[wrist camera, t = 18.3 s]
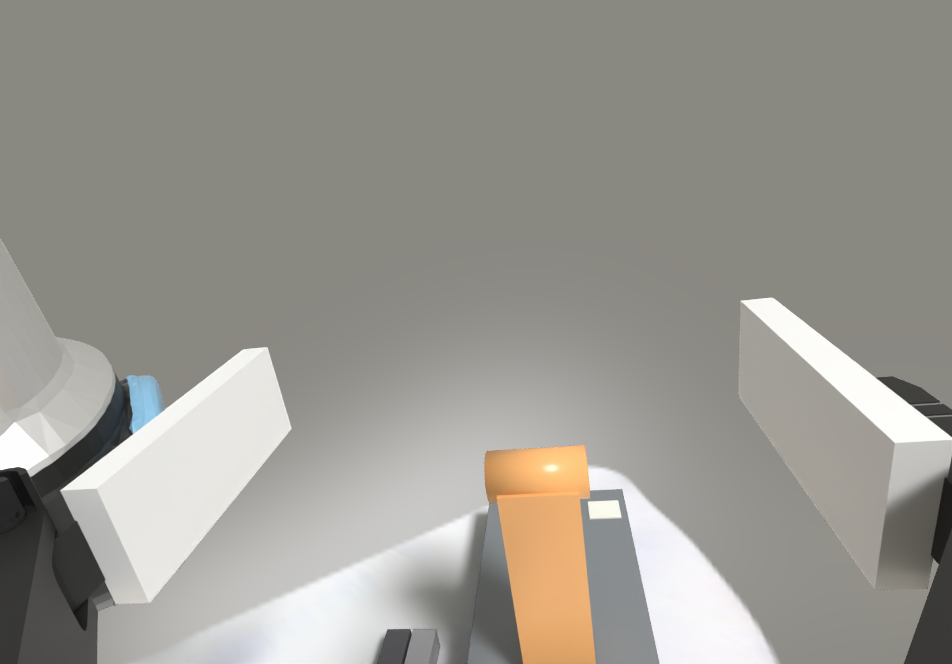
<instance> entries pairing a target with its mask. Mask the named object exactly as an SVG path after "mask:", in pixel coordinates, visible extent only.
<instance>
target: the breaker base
mask: <svg viewBox="0 0 952 664" xmlns="http://www.w3.org/2000/svg"><path fill="white" fill-rule="evenodd" d="M580 504H581V515H582V525H583V535H584V546H585V556H586V566H587V577H588V587H589V598H590V608H591V618H592V629H593V639H594V649H595V660H596V664H659V659H658V655H657V650H656V645H655V641H654V636H653V631H652V627H651V622H650V617H649V613H648V608H647V603H646V599H645V594H644V589H643V585H642V580H641V575H640V571H639V566H638V561H637V557H636V552H635V547H634V542H633V538H632V533H631V528H630V524H629V519H628V514H627V510H626V505H625V500H624V496H623V491H622V489H616V490H596V491H590V499H580ZM467 664H523V660H522V654H521V647H520V641H519V635H518V629H517V622H516V616H515V610H514V604H513V597H512V591H511V585H510V579H509V572H508V566H507V560H506V554H505V547H504V541H503V535H502V529H501V522H500V516H499V510H498V504H497V503H489V510H488V517H487V524H486V531H485V538H484V545H483V553H482V560H481V567H480V574H479V581H478V588H477V596H476V603H475V610H474V617H473V624H472V631H471V639H470V646H469V653H468V660H467Z"/></svg>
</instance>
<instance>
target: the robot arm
mask: <svg viewBox="0 0 952 664" xmlns="http://www.w3.org/2000/svg"><path fill="white" fill-rule="evenodd" d="M740 308H741V309H740V350H739V395H738V396H739V398H740V399H741V401H742V402H743V404H744V405H745V406H746V408H747V409H748V411H749V412H750V413H751V415H752V416H753V418H754V419H755V421H756V422H757V423H758V425H759V426H760V428H761V429H762V430H763V432H764V433H765V435H766V436H767V438H768V439H769V440H770V442H771V443H772V445H773V446H774V448H775V449H776V450H777V452H778V453H779V455H780V456H781V458H782V459H783V460H784V462H785V463H786V465H787V466H788V467H789V469H790V470H791V472H792V473H793V475H794V476H795V477H796V479H797V480H798V482H799V483H800V485H801V486H802V487H803V489H804V490H805V492H806V493H807V494H808V496H809V497H810V499H811V500H812V502H813V503H814V504H815V506H816V507H817V509H818V510H819V512H820V513H821V514H822V516H823V517H824V519H825V520H826V521H827V523H828V524H829V526H830V527H831V529H832V530H833V531H834V533H835V534H836V536H837V537H838V538H839V540H840V541H841V543H842V544H843V545H844V547H845V548H846V550H847V551H848V553H849V554H850V556H851V557H852V558H853V560H854V561H855V562H856V564H857V565H858V567H859V568H860V570H861V571H862V573H863V574H864V575H865V577H866V578H867V579H868V581H869V582H870V584H871V585H872V587H873V588H874V590H894V589H895V590H897V589H928V584H929V578H930V573H931V567H932V562H933V558H934V559H935V561H936V562H937V563H938V564H939V566H938V569H937V572H936V575H935V577H934V580H933V583H932V586H931V589H930V592H929V595H928V597H927V600H926V603H925V606H924V609H923V611H922V614H921V617H920V620H919V623H918V625H917V628H916V631H915V634H914V637H913V640H912V642H911V645H910V648H909V651H908V654H907V656H906V659H905V662H904V664H952V410H951V409H950V408H948V407H947V406H946V405H944V404H940V401H939V400H937V399H936V398H934V397H933V396H931V395H930V394H929V393H927V392H926V391H925V390H923V389H922V388H920V387H917V386H915V385H913V384H910V383H907V382H905V381H903V380H900V379H897V378H895V377H879V378H875V377H874V376H873V375H871V374H870V373H869V372H867V371H866V370H865V369H864V368H862V367H861V366H860V365H858V364H857V363H856V362H855V361H853V360H852V359H851V358H849V357H848V356H847V355H845V354H844V353H843V352H842V351H840V350H839V349H838V348H837V347H835V346H834V345H833V344H831V343H830V342H829V341H828V340H826V339H825V338H824V337H822V336H821V335H820V334H819V333H817V332H816V331H815V330H813V329H812V328H811V327H810V326H808V325H807V324H806V323H805V322H803V321H802V320H801V319H799V318H798V317H797V316H795V315H794V314H793V313H791V312H790V311H789V310H788V309H787V308H785V307H784V306H783V305H781V304H780V303H779V302H777V301H776V300H775V299H774V298H764V299H753V300H743V301H741V307H740ZM291 429H292V428H291V425H290V421H289V418H288V415H287V412H286V408H285V405H284V401H283V398H282V395H281V391H280V388H279V385H278V381H277V378H276V375H275V371H274V368H273V365H272V362H271V358H270V355H269V352H268V348H267V347H264V348H253V349H243V350H242V351H241V352H239V353H238V354H237V355H236V356H234V357H233V358H232V359H230V360H229V361H228V362H226V363H225V364H224V365H223V366H221V367H220V368H219V369H217V370H216V371H215V372H213V373H212V374H211V375H210V376H208V377H207V378H206V379H205V380H203V381H202V382H200V383H199V384H198V385H197V386H195V387H194V388H193V389H192V390H190V391H189V392H187V393H186V394H185V395H184V396H182V397H181V398H180V399H178V400H177V401H176V402H175V403H174V404H172V405H171V406H169V407H168V408H167V409H165V405H164V402H163V397H162V394H161V391H160V387H159V386H158V382H157V381H156V379H155V378H153V377H152V376H139V377H137V376H134V375H130V376H128V377H126V378H124V379H123V380H122V381H120V382H119V380H118V378H117V376H116V374H115V372H114V370H113V368H112V366H111V364H110V363H109V361H108V360H107V359H106V357H105V356H104V354H102V353H101V352H100V351H99V350H97V349H96V348H94V347H92V346H90V345H88V344H85V343H82V342H78V341H74V340H69V339H64V338H58V337H55V336H54V334H53V332H52V330H51V328H50V327H49V325H48V323H47V321H46V319H45V318H44V316H43V314H42V313H41V310H40V309H39V307H38V305H37V303H36V301H35V300H34V298H33V296H32V294H31V292H30V291H29V289H28V287H27V285H26V283H25V282H24V280H23V278H22V276H21V274H20V273H19V271H18V269H17V267H16V265H15V263H14V262H13V260H12V258H11V256H10V255H9V253H8V251H7V249H6V247H5V246H4V244H3V242H2V240H1V238H0V664H97V617H98V615H97V614H98V611H100V610H102V609H104V608H107V607H109V606H112V605H114V606H115V605H118V604H150V603H151V601H152V600H153V599H154V598H155V596H156V595H157V594H158V593H159V591H160V590H161V589H162V588H163V586H164V585H165V584H166V583H167V582H168V580H169V579H170V578H171V577H172V576H173V574H174V573H175V572H176V571H177V570H178V569H179V568H180V567H181V566H182V564H183V563H184V562H185V560H186V558H187V557H188V556H189V555H190V553H191V552H192V551H193V550H194V548H195V547H196V546H197V545H198V543H199V542H200V541H201V540H202V539H203V537H204V536H205V535H206V534H207V532H208V531H209V530H210V529H211V527H212V526H213V525H214V524H215V522H216V521H217V520H218V519H219V517H220V516H221V515H222V514H223V513H224V511H225V510H226V509H227V508H228V506H229V505H230V504H231V503H232V502H233V500H234V499H235V498H236V496H237V495H238V494H239V493H240V492H241V490H242V489H243V488H244V487H245V486H246V484H247V483H248V482H249V480H250V479H251V478H252V477H253V476H254V474H255V473H256V472H257V471H258V469H259V468H260V467H261V466H262V465H263V463H264V462H265V461H266V460H267V458H268V457H269V456H270V455H271V453H272V452H273V451H274V450H275V449H276V447H277V446H278V444H280V442H281V441H282V440H283V439H284V437H285V436H286V435H287V434H288V432H289V431H290V430H291Z"/></svg>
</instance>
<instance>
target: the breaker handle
mask: <svg viewBox="0 0 952 664" xmlns="http://www.w3.org/2000/svg"><path fill="white" fill-rule="evenodd" d="M485 486H486V493H487V498H488V501H489V503H497V504H498V510H499V516H500V522H501V529H502V535H503V541H504V547H505V554H506V560H507V566H508V572H509V579H510V585H511V591H512V597H513V604H514V610H515V616H516V622H517V629H518V635H519V641H520V647H521V654H522V660H523V664H596V660H595V649H594V639H593V629H592V618H591V608H590V598H589V587H588V577H587V566H586V556H585V546H584V535H583V525H582V515H581V504H580V499H590V487H589V477H588V467H587V458H586V449H585V445H578V446H562V447H546V448H529V449H513V450H496V451H487V452H486V454H485Z"/></svg>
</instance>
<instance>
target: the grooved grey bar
mask: <svg viewBox="0 0 952 664" xmlns="http://www.w3.org/2000/svg"><path fill="white" fill-rule="evenodd" d="M439 650H440V644H439V639H438V635H437V631H436V629H413V631H412V634H411V630H410V629H388V630H387V633H386V636H385V639H384V643H383V646H382V649H381V653H380V656H379V659H378V662H377V664H437V660H438V655H439Z"/></svg>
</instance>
